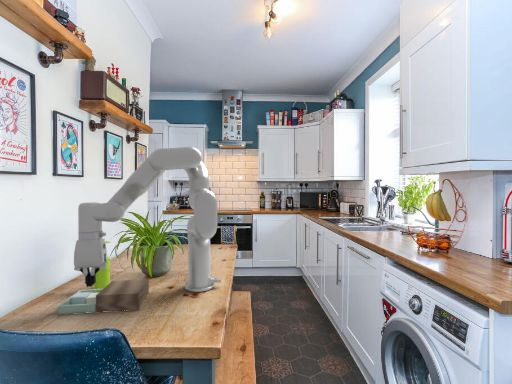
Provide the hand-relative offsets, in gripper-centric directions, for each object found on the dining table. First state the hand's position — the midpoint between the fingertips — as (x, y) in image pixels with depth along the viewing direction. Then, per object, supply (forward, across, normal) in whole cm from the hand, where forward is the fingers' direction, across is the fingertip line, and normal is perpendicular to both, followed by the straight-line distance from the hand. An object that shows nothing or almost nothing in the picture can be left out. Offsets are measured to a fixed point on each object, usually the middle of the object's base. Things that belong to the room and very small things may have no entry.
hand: (90, 285), depth 105 cm
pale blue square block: (+4, +4, -1) cm, 5 cm away
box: (+7, +1, 0) cm, 7 cm away
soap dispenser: (+7, +2, -18) cm, 20 cm away
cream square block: (+6, -2, 0) cm, 7 cm away
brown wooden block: (+7, -12, 0) cm, 14 cm away
